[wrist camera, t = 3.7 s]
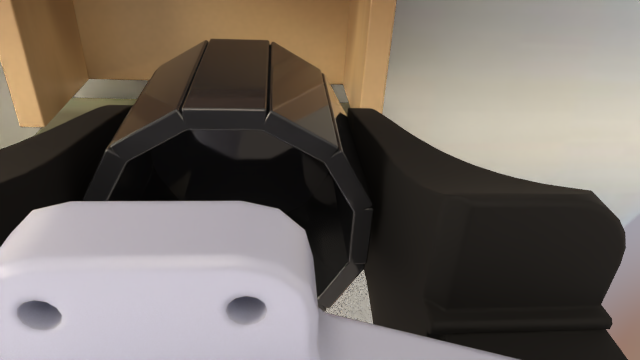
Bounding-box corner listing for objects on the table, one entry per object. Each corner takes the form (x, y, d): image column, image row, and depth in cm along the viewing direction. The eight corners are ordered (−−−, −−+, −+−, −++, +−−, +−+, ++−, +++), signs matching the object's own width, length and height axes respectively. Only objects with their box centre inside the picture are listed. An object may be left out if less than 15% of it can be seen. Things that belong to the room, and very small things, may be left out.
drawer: (358, 195, 25) (377, 270, 20) (91, 194, 24) (45, 275, 19) (404, -224, 16) (457, -265, 12) (-13, -257, 15) (-148, -320, 10)
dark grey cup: (349, 32, 12) (387, 110, 8) (336, 208, 15) (358, 333, 11) (129, 26, 12) (50, 106, 8) (157, 209, 14) (110, 339, 10)
